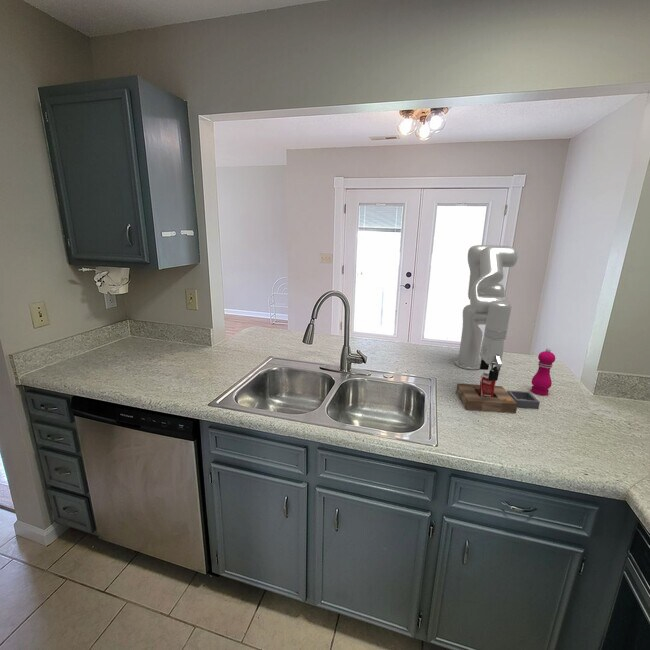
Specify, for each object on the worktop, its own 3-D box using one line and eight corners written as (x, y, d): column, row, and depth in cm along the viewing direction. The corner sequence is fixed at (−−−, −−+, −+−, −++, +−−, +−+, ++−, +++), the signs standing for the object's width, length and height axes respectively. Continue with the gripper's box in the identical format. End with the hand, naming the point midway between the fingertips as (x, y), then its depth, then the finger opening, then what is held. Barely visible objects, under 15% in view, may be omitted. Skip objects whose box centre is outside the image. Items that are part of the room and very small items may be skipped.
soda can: (479, 397, 139) (483, 370, 136) (493, 401, 136) (497, 374, 133) (475, 402, 135) (480, 374, 132) (489, 406, 132) (494, 378, 129)
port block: (456, 392, 144) (457, 382, 143) (500, 394, 142) (501, 385, 141) (466, 409, 129) (468, 399, 128) (515, 413, 128) (517, 403, 127)
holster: (506, 397, 140) (507, 390, 139) (527, 398, 139) (529, 391, 139) (515, 407, 132) (516, 400, 131) (538, 408, 131) (539, 401, 130)
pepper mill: (525, 389, 147) (534, 346, 142) (537, 387, 150) (546, 344, 144) (541, 397, 141) (550, 352, 135) (553, 394, 143) (563, 350, 138)
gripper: (477, 326, 137) (471, 365, 142) (493, 340, 120) (485, 384, 125) (496, 327, 136) (490, 366, 141) (515, 341, 120) (507, 385, 125)
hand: (488, 374), depth 133 cm, fingers open, 9 cm apart
